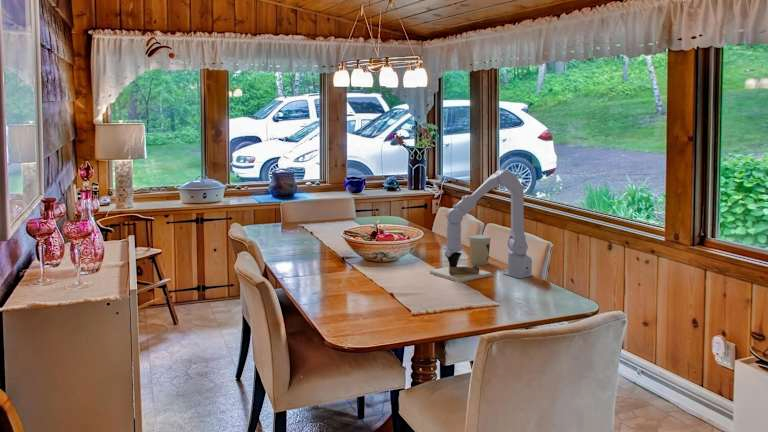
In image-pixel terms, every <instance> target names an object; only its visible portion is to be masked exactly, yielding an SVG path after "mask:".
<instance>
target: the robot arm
mask: <svg viewBox="0 0 768 432" xmlns="http://www.w3.org/2000/svg"><path fill="white" fill-rule="evenodd" d="M500 185H501V186H500ZM501 187H504V188H506V190H508V191H509V192H510V232H509V238H508V240H507V248H508V249H509V250H508V253H507V254H508V255H507V256H508V257H507V271H505V272H503V273H502V274H503V275H506V276H510V277H514V278H516V279H523V278H528V277H533V276H534V275H533V274H532V270H533V265H532V264H533V260H532V258H531V257H530V256H529V255H527V251H528V249H529V245H528V243H527V240H526V235H525V231H524V229H525V227H524V226H525V225H524V223H525V222H524V217H525V215H524V213H525V212H524V208H525V207H524V204H525V203H524V199H525V198H524V197H525V196H524V193H525V192H524V190H525V189H524V186H523V184H522V183H521V182H520V180H519V178H518V177H517V175H516V174H515V173H513V172H511V171H510V170H506V169H504V168H500V169H498V170H496V171H495V173H492V174H491V175H490V176H489V177H488V178H486V179H485V181H484V182H483V183H482V184H481V185H480V186H478V188H477V189H476V190H475V191H473V192H472V194H466V195H463V196H461V199H460V200H459V202H458V203H456V204H453V205H452V208H448V210H447V211H446V214H445V217H446V220H447V223H446V224H447V226H446V246H444V247H443V250H445V251H444V257H446V259H447V260H448V261H447V262H448V264H449V267H457V265H458V262H459V259H460V257H461V255H462V253H461V251H462V247H463V245H462V221H463V219H464V217H465V216H466V215H468V213H470V212H471V211H472V210H473V209H474V208H475V207H477V201H478V200H479V199H481V198H482V197H483V196H485V194H487V193H488V192H490V191H491V190H492V189H496V188H501Z"/></svg>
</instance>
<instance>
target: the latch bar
mask: <svg viewBox="0 0 768 432" xmlns="http://www.w3.org/2000/svg"><path fill="white" fill-rule="evenodd" d="M448 267H449V273H450V274H474V273H479V269H480V266H479V265H474V264H473V265H471V266H470V265H466V266H462V267H450V266H448Z"/></svg>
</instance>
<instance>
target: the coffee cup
mask: <svg viewBox="0 0 768 432" xmlns="http://www.w3.org/2000/svg"><path fill="white" fill-rule="evenodd" d="M468 240H469V258H470V259H469V260H470V261H469V262H470V265H471V264H472V265H473V266H474V265H476V266H485V265H488V264H489V259H490V257H489V256H490V248H491V236H490V235H487V234H471V235H470V236H469V237H468Z"/></svg>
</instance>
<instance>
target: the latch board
mask: <svg viewBox="0 0 768 432" xmlns="http://www.w3.org/2000/svg"><path fill="white" fill-rule="evenodd" d="M462 266H467V265H464V264H457V267H462ZM449 267H450V266H445V267H440V268H435V269H430V270H429V271H428V272H430V273H429V274H431V273H433V274H432V275H434V274H436V275H435V276H437V275H439V276H438V277H440V276H442V277H441V278H443V277H445V278H444V279H446V278H448V279H447V280H450V279H451V281H453V280H454V281H453V282H456V281H457V282H456V283H461V282H467V281H472V280H478V279H481V278H486V277H491V276H492V272H489V271H487V270H484V269H483V270H482V269H480V268H479V273H474V274H450V273H449Z"/></svg>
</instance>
